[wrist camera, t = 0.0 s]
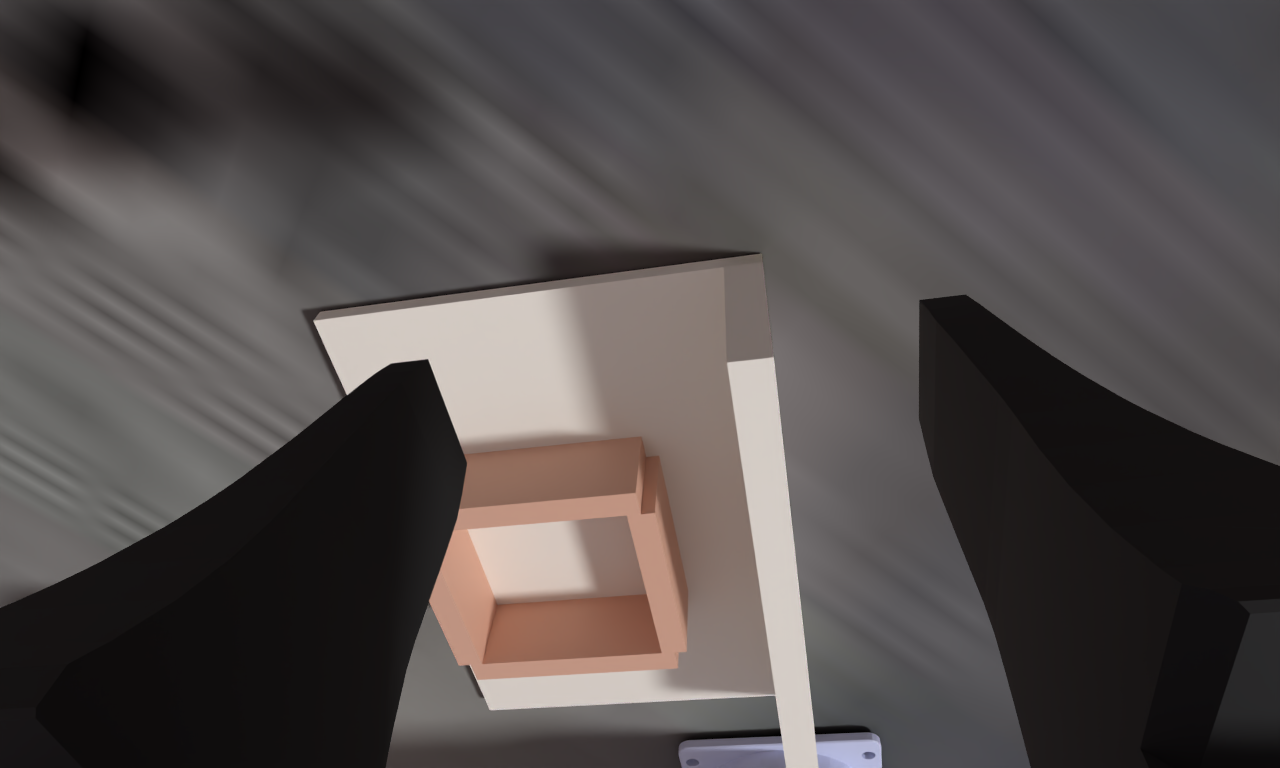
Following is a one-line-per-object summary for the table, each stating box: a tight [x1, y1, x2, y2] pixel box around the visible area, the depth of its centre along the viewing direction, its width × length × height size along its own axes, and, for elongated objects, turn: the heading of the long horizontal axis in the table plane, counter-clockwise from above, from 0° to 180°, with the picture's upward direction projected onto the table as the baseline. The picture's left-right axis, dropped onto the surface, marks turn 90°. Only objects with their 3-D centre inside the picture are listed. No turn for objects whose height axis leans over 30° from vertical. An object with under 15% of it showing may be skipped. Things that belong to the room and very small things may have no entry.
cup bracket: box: [313, 253, 819, 768], centre depth 26 cm, size 18×12×5 cm
